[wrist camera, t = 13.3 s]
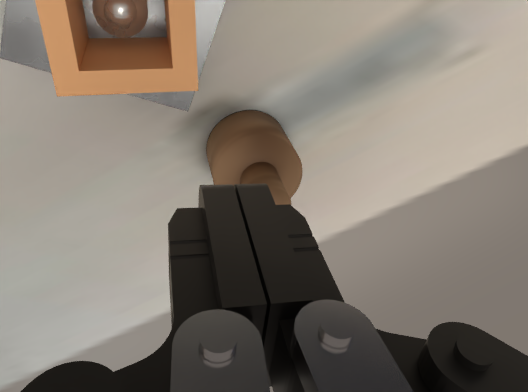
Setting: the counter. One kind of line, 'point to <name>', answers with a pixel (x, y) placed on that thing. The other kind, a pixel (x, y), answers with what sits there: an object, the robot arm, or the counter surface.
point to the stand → (254, 154)
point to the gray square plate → (108, 33)
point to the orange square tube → (118, 53)
